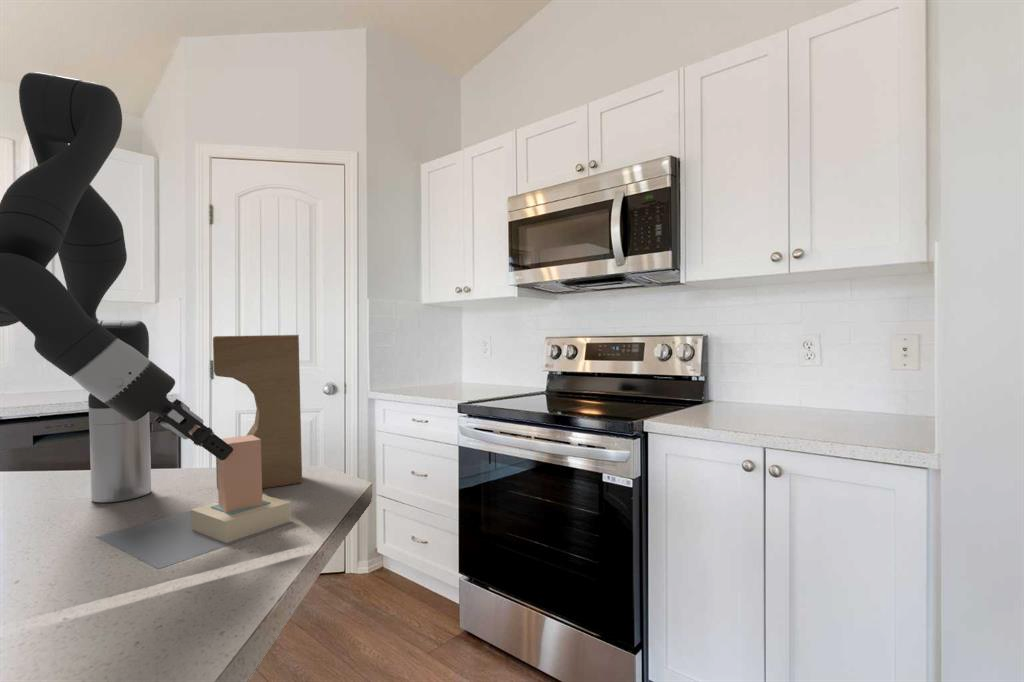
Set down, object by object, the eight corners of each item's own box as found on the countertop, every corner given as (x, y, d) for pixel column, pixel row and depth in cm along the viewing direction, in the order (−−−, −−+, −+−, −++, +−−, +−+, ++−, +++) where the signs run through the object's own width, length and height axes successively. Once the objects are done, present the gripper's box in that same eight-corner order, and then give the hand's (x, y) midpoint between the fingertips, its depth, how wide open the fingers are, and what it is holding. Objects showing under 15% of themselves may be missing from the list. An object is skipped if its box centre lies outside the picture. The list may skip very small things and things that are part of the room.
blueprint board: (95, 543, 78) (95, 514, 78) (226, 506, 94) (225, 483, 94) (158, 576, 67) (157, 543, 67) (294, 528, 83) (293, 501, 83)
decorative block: (217, 495, 101) (213, 336, 100) (216, 486, 107) (212, 336, 107) (302, 483, 108) (298, 334, 108) (296, 475, 115) (293, 334, 114)
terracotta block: (226, 512, 78) (224, 444, 78) (218, 504, 82) (216, 439, 82) (262, 504, 82) (260, 439, 81) (253, 497, 86) (252, 434, 85)
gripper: (155, 360, 69) (253, 437, 77) (142, 357, 80) (229, 424, 87) (104, 406, 66) (212, 481, 73) (98, 396, 76) (192, 462, 84)
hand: (221, 450), depth 80 cm, fingers open, 8 cm apart
